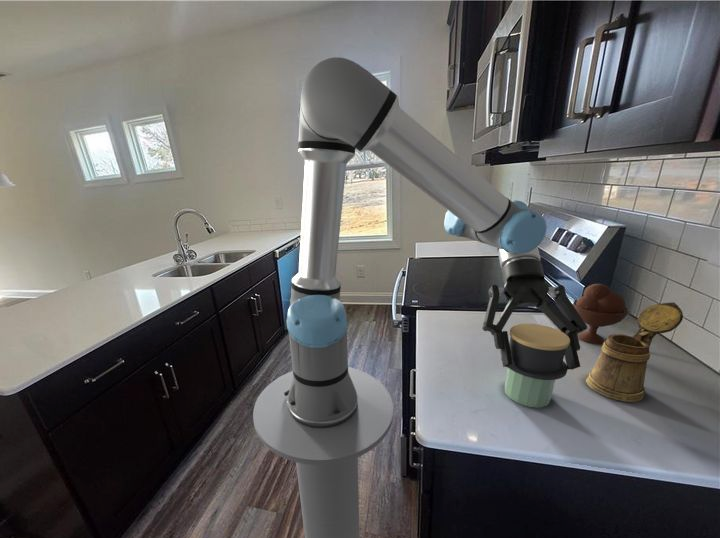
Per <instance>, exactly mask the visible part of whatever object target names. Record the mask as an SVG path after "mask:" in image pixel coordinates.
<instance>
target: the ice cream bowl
mask: <svg viewBox="0 0 720 538" xmlns="http://www.w3.org/2000/svg"><path fill="white" fill-rule="evenodd" d="M582 295H583V296H580V297H579V298H578V299H574V300H573V303H572V304H573V306H574V307H575V309H576V310H577V312H578V313H579V315H580V316H581V318H582V319H583V321H584V322H585V324H586V325H587V326H588V330H587V331H582V332H580V333H577V336H578V339H579V340H581V341H583V342H586V343H589V344H597V345H598V344H604V337H603V336H601V335H599V334H598V333H597V332H598V329H599V328H602V327H603V328H604V327H609V326H613V325H616V324H618V323H620V322H622V321H623V320H624V319H625V318H626V316H627V315H628V313H629V311H628V307H626V301H625V298H624V297H623V296H622V295H621V294H619V293H617V292H615V291H612V290H611V288H610V287H609V286H608V285H606V284H602V283H593V284H590V285H587V286H586V288H585V289H584V291H583V294H582Z"/></svg>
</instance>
